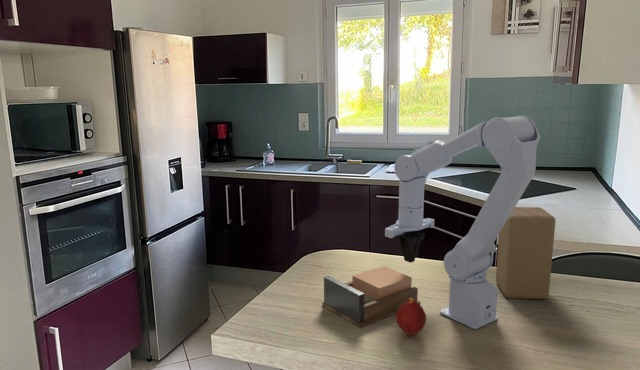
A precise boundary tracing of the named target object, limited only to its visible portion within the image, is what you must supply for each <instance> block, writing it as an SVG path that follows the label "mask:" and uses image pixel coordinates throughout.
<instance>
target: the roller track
mask: <svg viewBox="0 0 640 370" xmlns="http://www.w3.org/2000/svg"><path fill="white" fill-rule="evenodd" d="M418 292H419V289H418V287H416V286H412V287H411V288H410V289H407V290H404V291H401V292H398V293H395V294H392V295H390V296H387V297H384V298H381V299H378V300H376V299H374V298H372V297H370V296H368V295H366V294H364V293H362V292H360V291H358V290H356V289H354V288H352V280H350V281H347V282H343V281H341V280H338V279H336V278H334V277H332V276H331V275H326V276H324V277H323V301H322V302H321V304H322V305H321V306H323V308H326V309H327V310H330V311H331V312H333V313H335V314H336V315H338V316H339V317H341V318H343V319H345V320H346V321H348V322H349V323H352V324H353V325H355V326H357V328H363V327H364V328H365V327H366V326H369V325H371V324H375V323H377V322H380V321H382V320H384V319H387V318H389V317H393V316H395V315H396V314H397V311H398V309H399V307H400V306H401V305H402V304H403V303H405V302H407V301H408V299H409V298H413V299H414V301H415V302H417V303H418V304H420V305H421V301H420V300H418V296H419V295H418Z"/></svg>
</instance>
